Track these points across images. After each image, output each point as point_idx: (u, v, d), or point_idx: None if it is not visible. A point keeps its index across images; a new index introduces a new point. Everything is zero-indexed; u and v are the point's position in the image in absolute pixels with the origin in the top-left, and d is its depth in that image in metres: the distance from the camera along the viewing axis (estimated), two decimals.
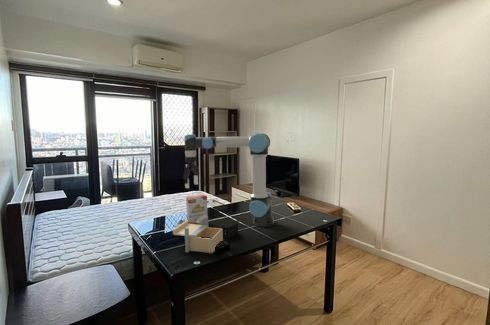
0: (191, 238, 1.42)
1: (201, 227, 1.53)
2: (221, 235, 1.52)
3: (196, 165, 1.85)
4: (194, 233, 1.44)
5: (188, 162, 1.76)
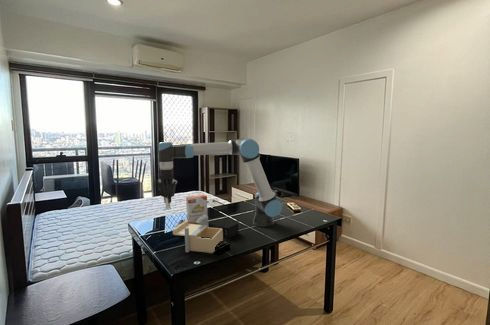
0: (191, 238, 1.42)
1: (201, 227, 1.53)
2: (221, 235, 1.52)
3: (161, 182, 1.51)
4: (194, 233, 1.44)
5: (172, 175, 1.47)
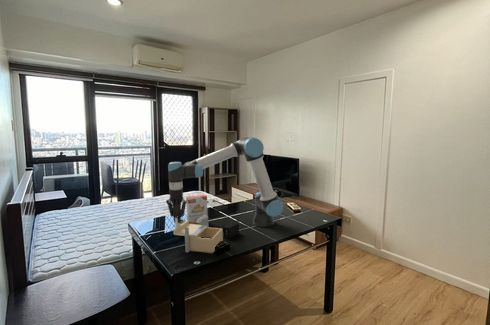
0: (191, 238, 1.42)
1: (202, 227, 1.53)
2: (221, 235, 1.52)
3: None
4: (195, 233, 1.44)
5: (182, 195, 1.47)
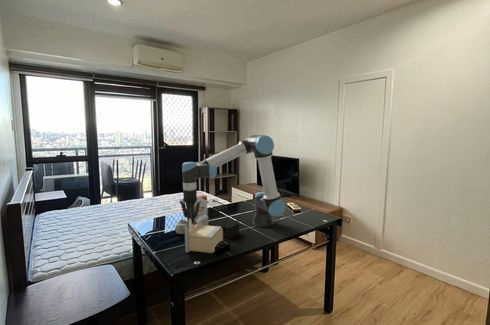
0: (191, 238, 1.42)
1: (215, 228, 1.50)
2: (221, 235, 1.52)
3: None
4: (209, 235, 1.41)
5: (196, 196, 1.45)
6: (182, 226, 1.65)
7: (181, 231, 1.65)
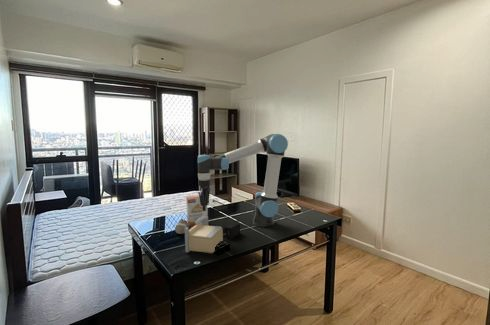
0: (191, 238, 1.42)
1: (216, 228, 1.50)
2: (221, 235, 1.52)
3: (209, 191, 1.67)
4: (209, 235, 1.41)
5: (201, 186, 1.58)
6: (182, 226, 1.65)
7: (181, 231, 1.66)
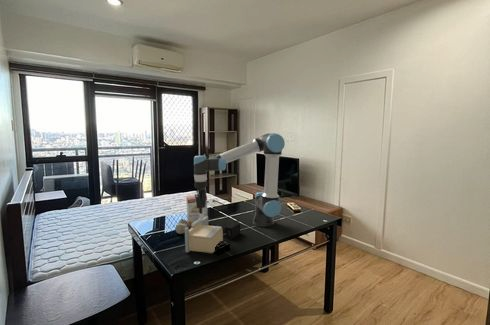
0: (191, 238, 1.42)
1: (216, 228, 1.50)
2: (221, 235, 1.52)
3: (205, 193, 1.62)
4: (209, 235, 1.41)
5: (198, 188, 1.54)
6: (182, 226, 1.65)
7: (181, 231, 1.66)
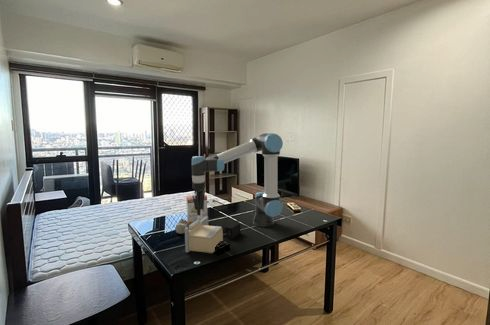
0: (191, 238, 1.42)
1: (216, 228, 1.50)
2: (221, 235, 1.52)
3: (204, 194, 1.59)
4: (209, 235, 1.41)
5: (196, 189, 1.51)
6: (182, 226, 1.65)
7: (181, 231, 1.66)
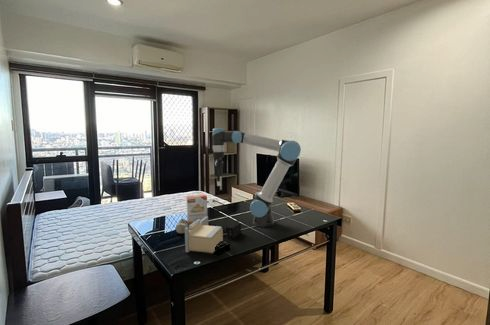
0: (191, 238, 1.42)
1: (216, 228, 1.50)
2: (221, 235, 1.52)
3: (222, 163, 1.77)
4: (209, 235, 1.41)
5: (216, 157, 1.69)
6: (182, 225, 1.66)
7: (181, 230, 1.66)
